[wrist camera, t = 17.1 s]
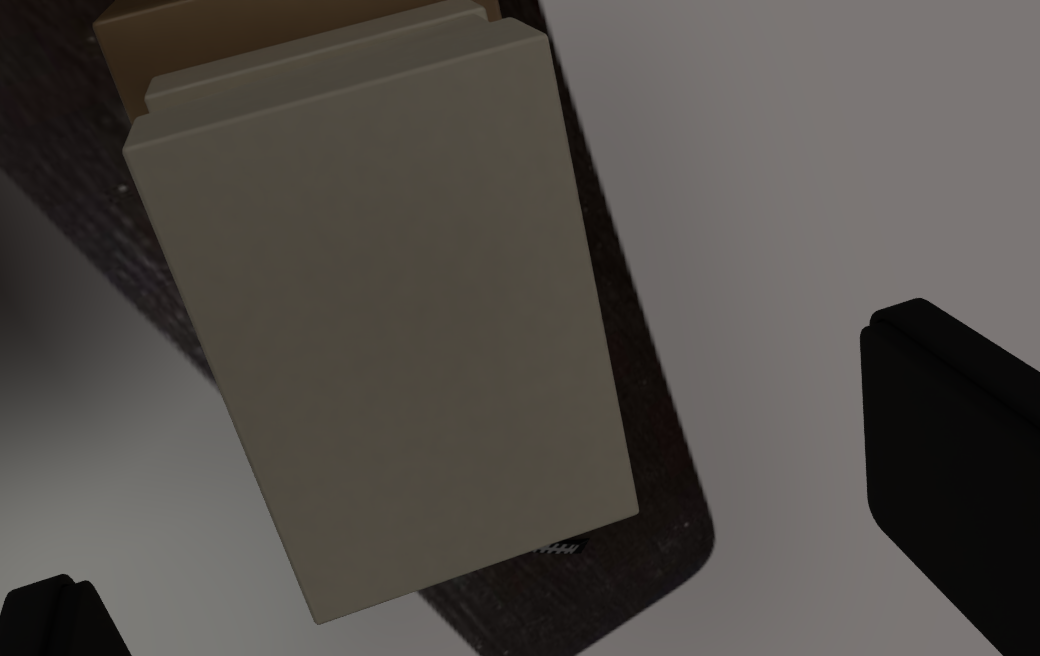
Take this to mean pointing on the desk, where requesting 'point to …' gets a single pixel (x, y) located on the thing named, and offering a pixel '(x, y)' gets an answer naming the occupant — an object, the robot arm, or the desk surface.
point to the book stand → (219, 32)
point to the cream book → (397, 308)
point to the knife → (564, 547)
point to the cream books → (311, 53)
